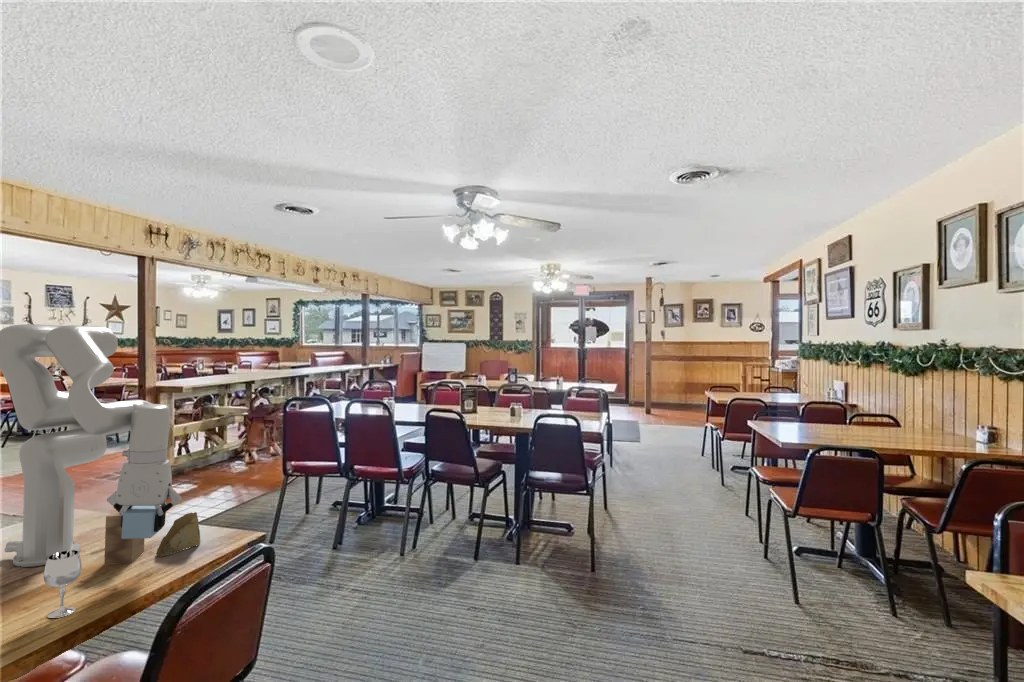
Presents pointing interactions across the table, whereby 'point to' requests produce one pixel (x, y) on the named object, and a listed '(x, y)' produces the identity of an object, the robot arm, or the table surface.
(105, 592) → the table surface
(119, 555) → the tower base
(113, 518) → the tower mid
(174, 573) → the table surface
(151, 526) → the blue block
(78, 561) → the wineglass
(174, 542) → the rock
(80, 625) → the table surface
